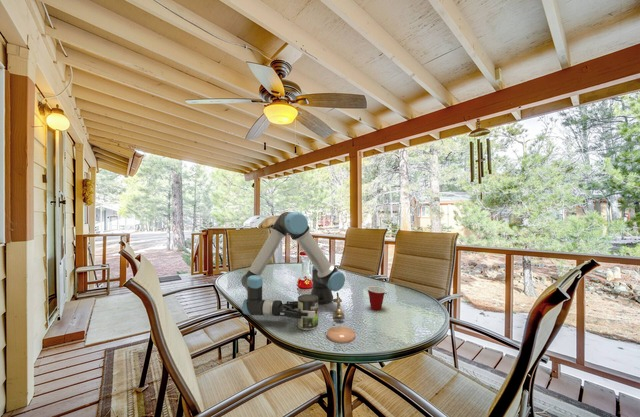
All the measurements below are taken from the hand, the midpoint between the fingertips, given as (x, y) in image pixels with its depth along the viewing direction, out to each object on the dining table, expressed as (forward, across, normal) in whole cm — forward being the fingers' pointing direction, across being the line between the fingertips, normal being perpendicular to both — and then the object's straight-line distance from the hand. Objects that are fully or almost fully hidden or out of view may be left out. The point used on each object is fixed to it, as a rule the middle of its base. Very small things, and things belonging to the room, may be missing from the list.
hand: (316, 309), depth 130 cm
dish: (+12, +9, -8) cm, 17 cm away
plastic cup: (+32, -26, -8) cm, 42 cm away
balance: (+10, -13, -8) cm, 18 cm away
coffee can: (-4, 0, -8) cm, 9 cm away
